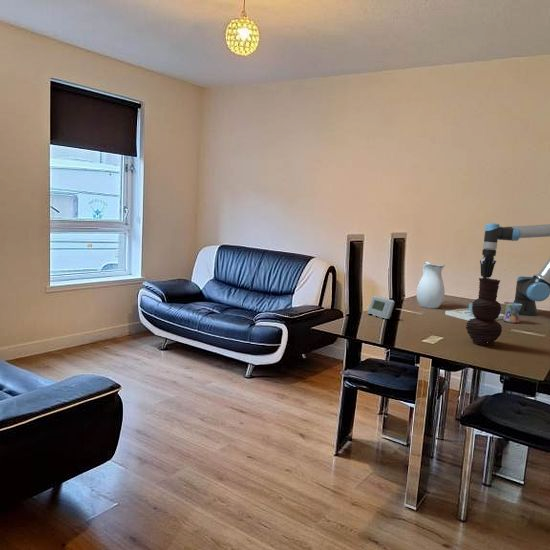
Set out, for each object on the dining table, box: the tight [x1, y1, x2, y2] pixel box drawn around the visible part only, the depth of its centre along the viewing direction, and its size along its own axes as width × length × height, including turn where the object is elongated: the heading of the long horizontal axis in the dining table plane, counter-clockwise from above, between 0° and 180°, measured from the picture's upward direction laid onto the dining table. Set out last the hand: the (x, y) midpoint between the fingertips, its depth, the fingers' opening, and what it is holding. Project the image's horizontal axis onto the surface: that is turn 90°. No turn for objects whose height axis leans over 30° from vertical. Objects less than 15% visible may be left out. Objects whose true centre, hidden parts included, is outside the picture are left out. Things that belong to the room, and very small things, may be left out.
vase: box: [465, 277, 503, 346], centre depth 225 cm, size 15×15×30 cm
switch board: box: [444, 307, 505, 322], centre depth 289 cm, size 30×20×3 cm, turn 122°
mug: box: [502, 301, 522, 324], centre depth 280 cm, size 12×9×11 cm
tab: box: [467, 301, 474, 311], centre depth 295 cm, size 4×5×5 cm
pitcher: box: [415, 261, 446, 309], centre depth 313 cm, size 24×17×28 cm
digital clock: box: [367, 295, 395, 320], centre depth 271 cm, size 16×9×11 cm, turn 22°
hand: (484, 287), depth 298 cm, fingers closed
